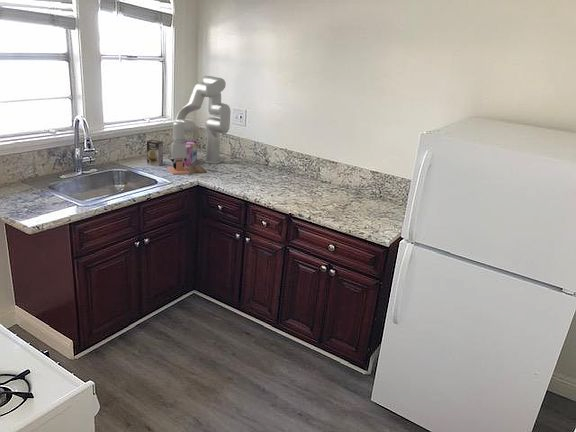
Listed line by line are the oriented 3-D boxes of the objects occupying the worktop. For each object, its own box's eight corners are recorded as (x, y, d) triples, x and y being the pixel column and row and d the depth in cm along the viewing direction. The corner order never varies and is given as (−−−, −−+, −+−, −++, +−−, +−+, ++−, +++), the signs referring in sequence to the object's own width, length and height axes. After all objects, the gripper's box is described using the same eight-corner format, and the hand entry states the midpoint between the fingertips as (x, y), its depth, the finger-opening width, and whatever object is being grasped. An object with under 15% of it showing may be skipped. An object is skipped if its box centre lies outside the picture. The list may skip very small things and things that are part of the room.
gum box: (186, 168, 315) (186, 149, 310) (174, 167, 316) (174, 147, 311) (197, 159, 337) (197, 141, 332) (186, 158, 338) (186, 140, 333)
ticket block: (199, 167, 321) (199, 164, 320) (206, 173, 309) (206, 170, 309) (183, 167, 315) (184, 165, 315) (190, 174, 304) (190, 171, 304)
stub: (183, 167, 315) (183, 157, 312) (189, 173, 304) (190, 163, 301) (167, 168, 310) (167, 158, 307) (173, 174, 299) (173, 164, 296)
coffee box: (146, 164, 315) (146, 141, 309) (151, 162, 321) (151, 139, 315) (158, 166, 313) (158, 143, 307) (163, 164, 319) (163, 141, 313)
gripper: (189, 139, 306) (189, 166, 313) (164, 139, 298) (164, 167, 305) (193, 142, 300) (192, 169, 307) (167, 142, 292) (167, 170, 299)
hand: (178, 168), depth 306 cm, fingers closed on stub, 4 cm apart
